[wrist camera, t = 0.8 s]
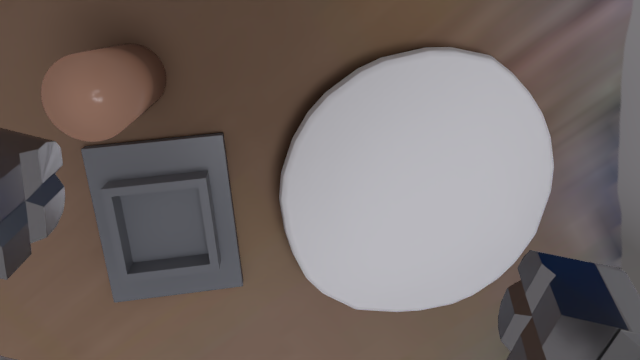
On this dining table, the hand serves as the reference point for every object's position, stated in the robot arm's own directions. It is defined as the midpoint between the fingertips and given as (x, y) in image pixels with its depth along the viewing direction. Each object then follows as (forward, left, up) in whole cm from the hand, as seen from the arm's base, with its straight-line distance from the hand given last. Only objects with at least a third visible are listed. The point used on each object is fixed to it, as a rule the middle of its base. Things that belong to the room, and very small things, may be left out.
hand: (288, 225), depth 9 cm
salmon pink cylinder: (+1, -12, -43) cm, 45 cm away
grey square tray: (+15, -11, -43) cm, 47 cm away
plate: (+14, +14, -43) cm, 48 cm away
